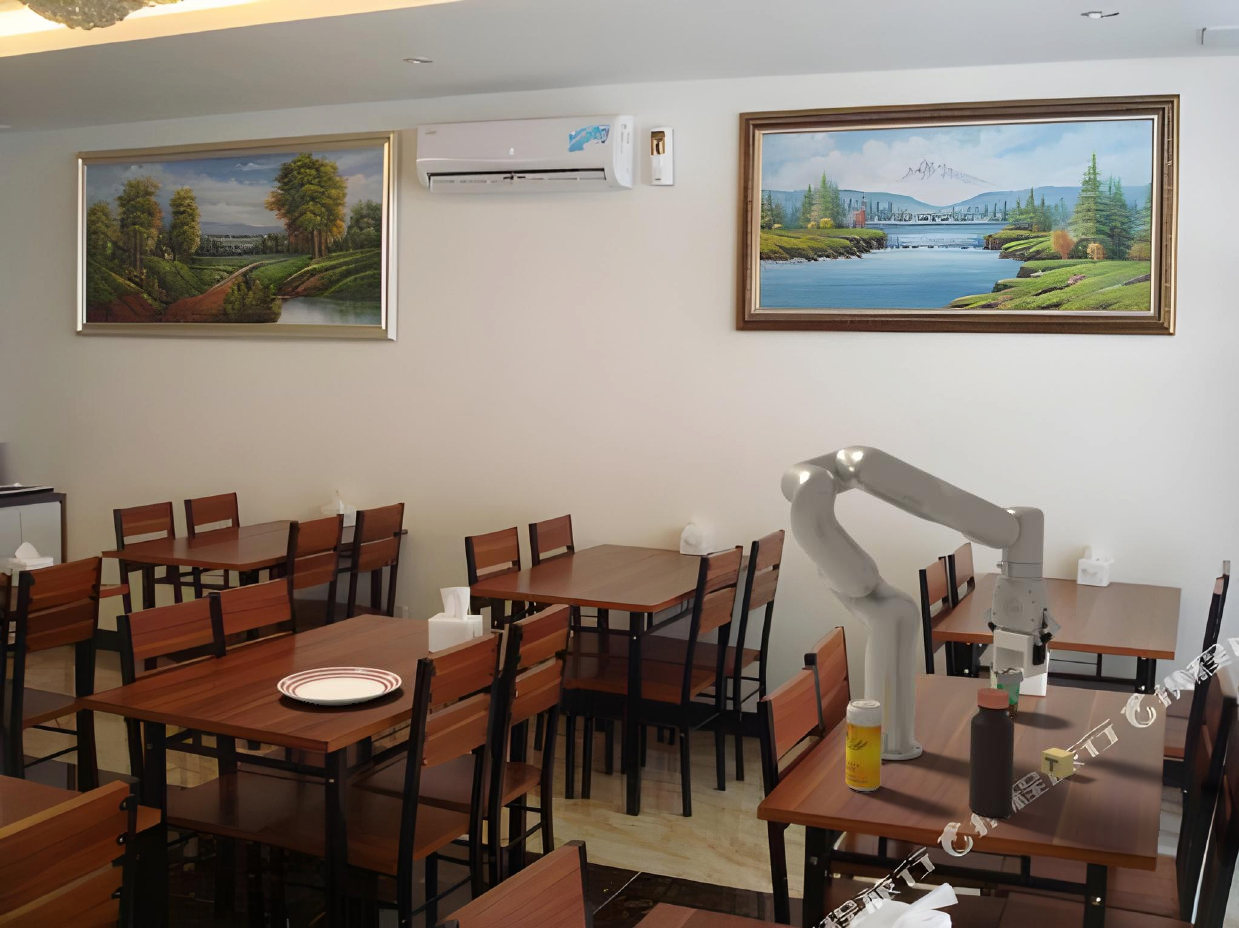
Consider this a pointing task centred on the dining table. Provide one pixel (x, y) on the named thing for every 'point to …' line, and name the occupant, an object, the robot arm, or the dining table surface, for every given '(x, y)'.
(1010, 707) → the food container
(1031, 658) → the cover
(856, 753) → the beer can
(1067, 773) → the letter cube
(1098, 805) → the dining table surface
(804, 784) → the dining table surface
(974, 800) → the bottle
